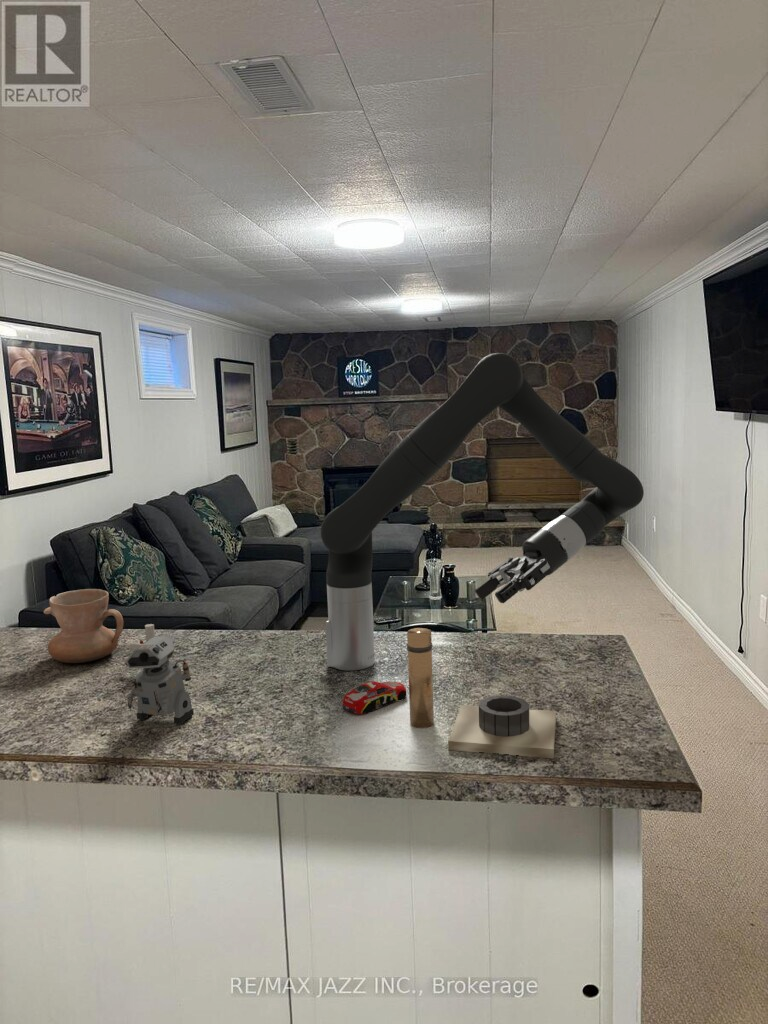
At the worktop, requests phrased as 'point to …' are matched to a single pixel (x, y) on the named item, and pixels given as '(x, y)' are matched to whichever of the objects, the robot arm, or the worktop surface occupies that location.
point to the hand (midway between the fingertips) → (487, 597)
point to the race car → (373, 696)
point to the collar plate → (504, 728)
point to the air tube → (420, 677)
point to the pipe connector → (149, 634)
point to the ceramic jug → (83, 626)
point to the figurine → (159, 681)
